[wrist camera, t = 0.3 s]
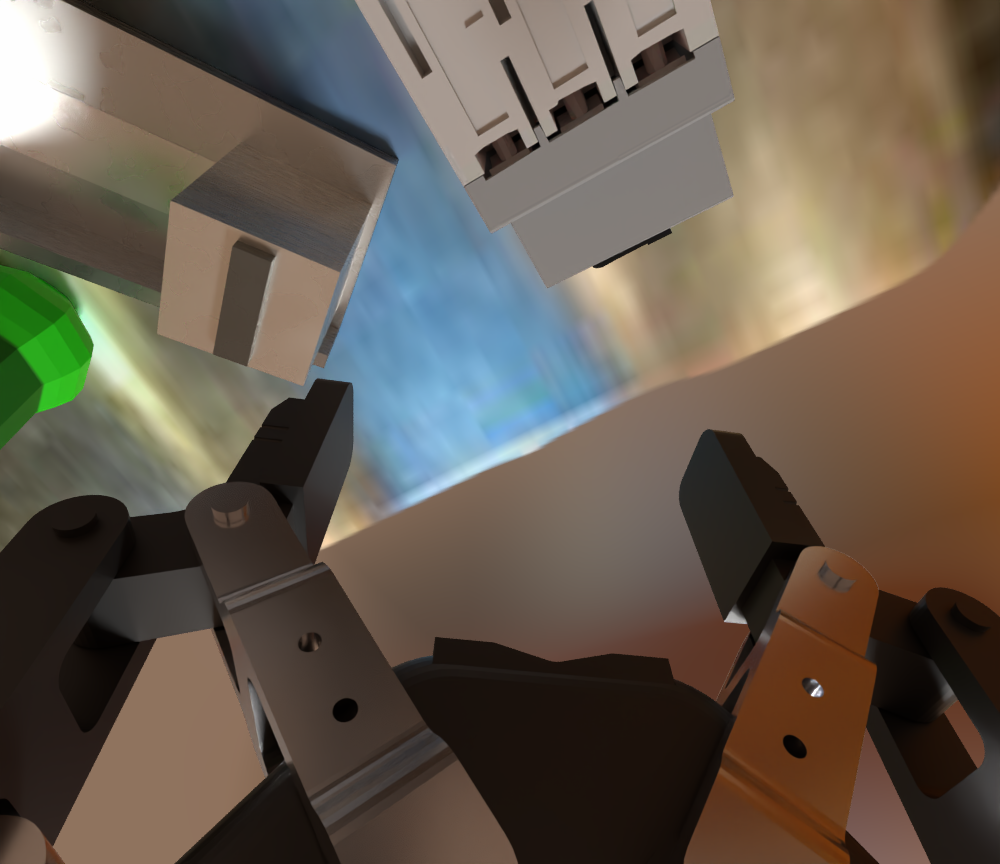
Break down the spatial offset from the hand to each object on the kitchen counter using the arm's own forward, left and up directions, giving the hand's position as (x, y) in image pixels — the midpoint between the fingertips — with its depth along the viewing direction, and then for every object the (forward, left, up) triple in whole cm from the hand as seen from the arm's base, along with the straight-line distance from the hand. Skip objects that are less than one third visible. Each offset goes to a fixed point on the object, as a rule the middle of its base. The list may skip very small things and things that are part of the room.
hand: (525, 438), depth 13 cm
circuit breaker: (-5, 0, -23) cm, 23 cm away
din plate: (+9, -19, -23) cm, 31 cm away
